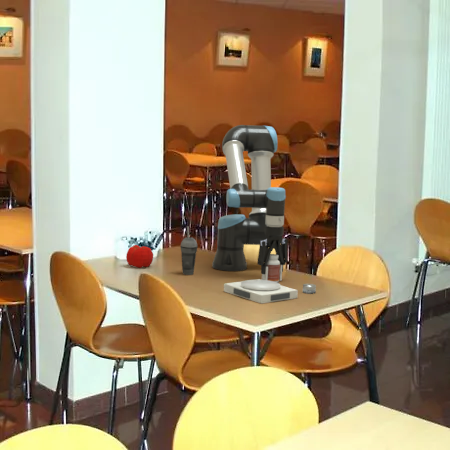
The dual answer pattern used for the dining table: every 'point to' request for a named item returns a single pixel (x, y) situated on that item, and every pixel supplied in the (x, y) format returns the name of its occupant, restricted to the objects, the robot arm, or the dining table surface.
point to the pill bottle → (273, 268)
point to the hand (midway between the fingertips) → (271, 280)
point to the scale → (260, 290)
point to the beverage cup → (188, 254)
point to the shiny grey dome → (309, 288)
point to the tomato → (139, 256)
